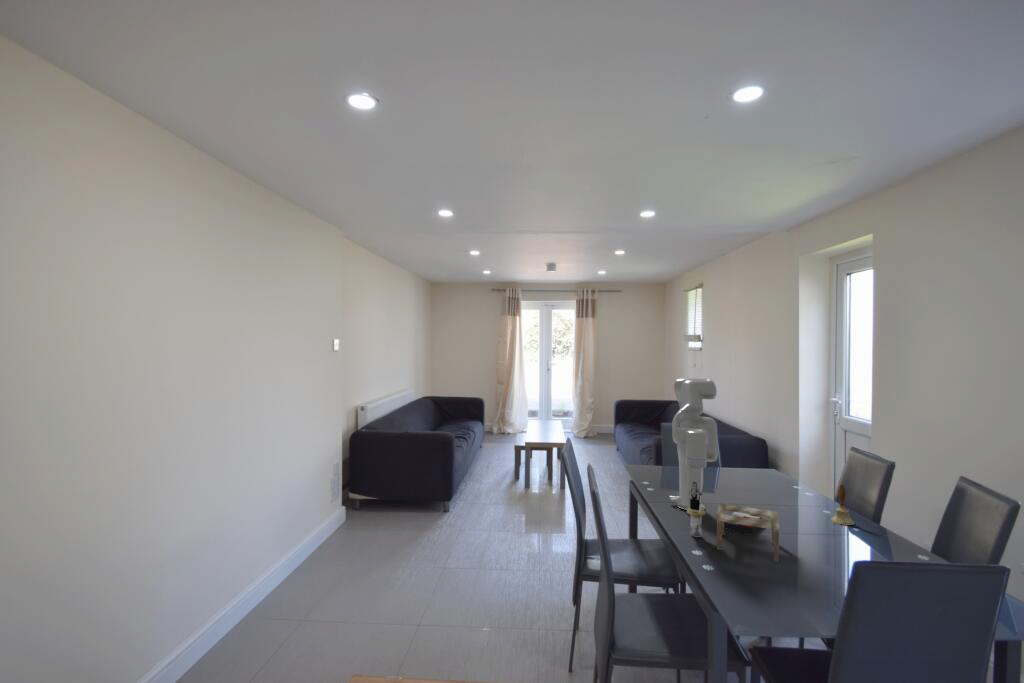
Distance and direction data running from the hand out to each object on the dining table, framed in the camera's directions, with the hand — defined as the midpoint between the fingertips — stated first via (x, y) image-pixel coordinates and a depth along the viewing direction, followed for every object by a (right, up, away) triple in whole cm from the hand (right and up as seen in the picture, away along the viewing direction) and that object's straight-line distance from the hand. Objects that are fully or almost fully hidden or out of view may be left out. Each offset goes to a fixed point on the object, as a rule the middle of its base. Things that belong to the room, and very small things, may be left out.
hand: (696, 506), depth 182 cm
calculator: (+23, -13, +10) cm, 29 cm away
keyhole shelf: (+15, -12, -10) cm, 22 cm away
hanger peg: (0, -12, 0) cm, 12 cm away
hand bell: (+69, -13, +16) cm, 72 cm away
